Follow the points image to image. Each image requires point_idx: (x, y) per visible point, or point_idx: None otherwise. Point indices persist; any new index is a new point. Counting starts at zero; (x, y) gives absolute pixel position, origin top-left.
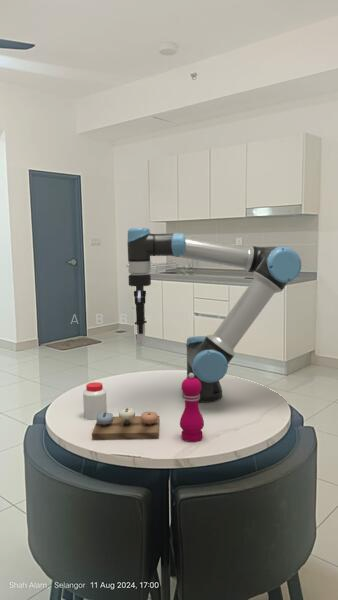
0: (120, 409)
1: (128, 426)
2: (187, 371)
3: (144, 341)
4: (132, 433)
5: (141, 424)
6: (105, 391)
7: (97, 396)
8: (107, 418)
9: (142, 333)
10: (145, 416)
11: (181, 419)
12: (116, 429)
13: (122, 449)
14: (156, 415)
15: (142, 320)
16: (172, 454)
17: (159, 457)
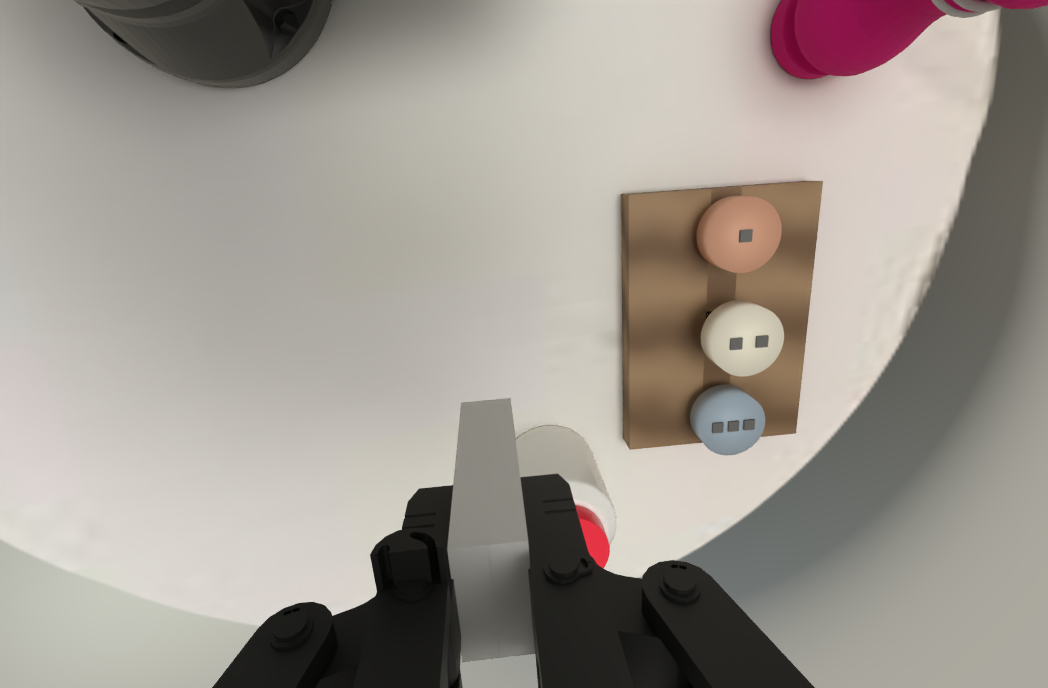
0: (732, 371)
1: None
2: (159, 4)
3: (510, 410)
4: (810, 289)
5: None
6: None
7: (611, 502)
8: (761, 407)
9: (560, 479)
10: (768, 250)
11: (886, 59)
12: None
13: (875, 306)
14: (762, 199)
15: (732, 623)
16: (953, 114)
17: (965, 164)
